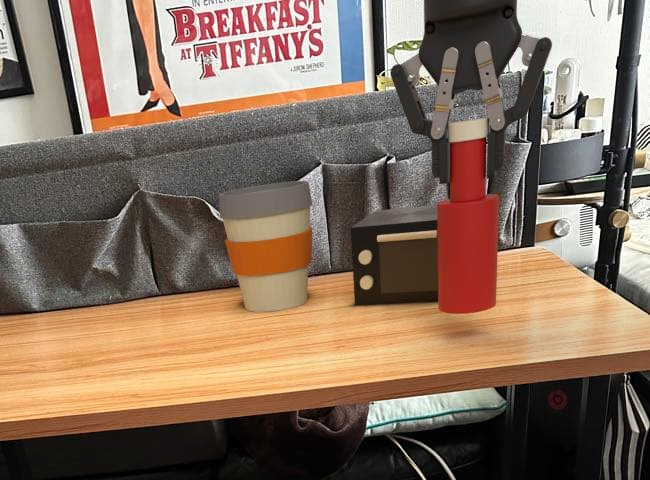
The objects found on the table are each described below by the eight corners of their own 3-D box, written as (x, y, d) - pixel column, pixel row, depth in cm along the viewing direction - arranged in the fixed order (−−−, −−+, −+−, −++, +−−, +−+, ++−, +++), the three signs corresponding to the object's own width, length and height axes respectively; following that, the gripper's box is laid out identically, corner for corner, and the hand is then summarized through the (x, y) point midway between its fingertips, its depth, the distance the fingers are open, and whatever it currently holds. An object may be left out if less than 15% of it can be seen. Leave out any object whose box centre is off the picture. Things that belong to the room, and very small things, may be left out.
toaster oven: (464, 280, 100) (465, 201, 95) (448, 308, 88) (449, 220, 83) (378, 285, 104) (375, 210, 99) (352, 313, 92) (347, 229, 87)
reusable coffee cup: (233, 300, 109) (218, 191, 101) (316, 288, 108) (307, 178, 101) (231, 319, 98) (215, 199, 91) (324, 307, 97) (314, 184, 90)
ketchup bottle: (498, 298, 74) (503, 114, 66) (493, 312, 70) (498, 117, 62) (442, 301, 76) (441, 123, 68) (434, 315, 72) (431, 127, 64)
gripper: (374, -37, 59) (384, 194, 67) (564, -83, 53) (548, 175, 62) (392, -27, 65) (399, 184, 73) (565, -68, 59) (551, 166, 68)
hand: (468, 179), depth 67 cm, fingers closed on ketchup bottle, 3 cm apart
